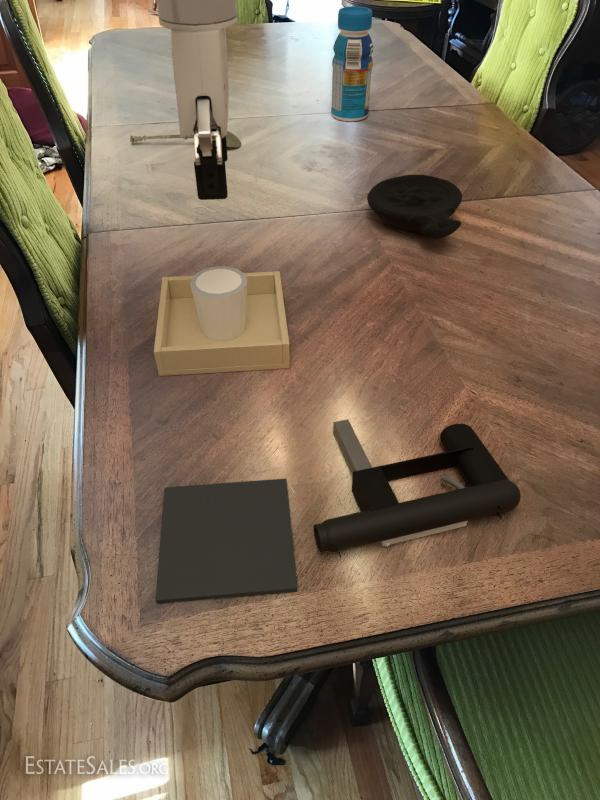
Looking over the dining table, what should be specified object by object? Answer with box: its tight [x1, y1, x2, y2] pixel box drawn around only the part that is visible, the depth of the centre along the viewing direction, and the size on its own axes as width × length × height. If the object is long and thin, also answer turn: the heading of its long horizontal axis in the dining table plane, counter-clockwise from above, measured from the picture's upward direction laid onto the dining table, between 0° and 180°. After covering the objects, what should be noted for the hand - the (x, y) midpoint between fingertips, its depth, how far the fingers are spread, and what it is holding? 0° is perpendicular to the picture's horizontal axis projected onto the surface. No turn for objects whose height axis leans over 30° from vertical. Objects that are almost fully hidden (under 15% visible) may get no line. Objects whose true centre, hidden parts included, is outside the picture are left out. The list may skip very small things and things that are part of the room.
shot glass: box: [190, 265, 247, 341], centre depth 76 cm, size 7×7×7 cm
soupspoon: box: [129, 130, 242, 148], centre depth 122 cm, size 22×3×7 cm
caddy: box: [153, 270, 291, 377], centre depth 78 cm, size 16×16×4 cm
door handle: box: [313, 418, 522, 558], centre depth 61 cm, size 3×20×16 cm
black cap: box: [366, 174, 463, 240], centre depth 97 cm, size 15×20×5 cm
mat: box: [155, 478, 298, 604], centre depth 57 cm, size 12×12×1 cm
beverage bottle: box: [330, 5, 374, 122], centre depth 128 cm, size 8×8×20 cm
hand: (213, 178), depth 70 cm, fingers open, 9 cm apart
